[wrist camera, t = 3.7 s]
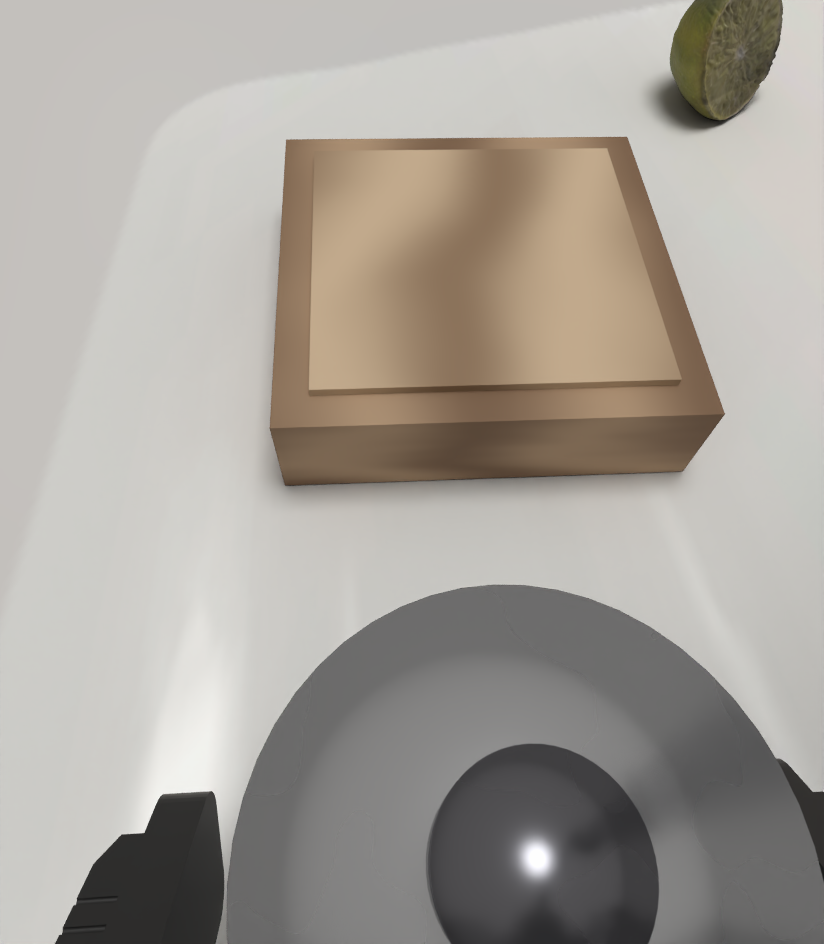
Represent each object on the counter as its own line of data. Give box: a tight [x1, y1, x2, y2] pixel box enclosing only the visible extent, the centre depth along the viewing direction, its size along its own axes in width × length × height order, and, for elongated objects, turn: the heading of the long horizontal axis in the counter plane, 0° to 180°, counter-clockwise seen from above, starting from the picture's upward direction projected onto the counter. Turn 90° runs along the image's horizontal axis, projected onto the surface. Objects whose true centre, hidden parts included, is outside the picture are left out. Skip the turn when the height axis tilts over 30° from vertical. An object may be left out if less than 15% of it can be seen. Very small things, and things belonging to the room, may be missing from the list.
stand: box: [270, 137, 725, 485], centre depth 22 cm, size 12×12×3 cm
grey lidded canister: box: [227, 585, 824, 944], centre depth 11 cm, size 6×6×11 cm
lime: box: [670, 0, 783, 120], centre depth 29 cm, size 4×5×5 cm
